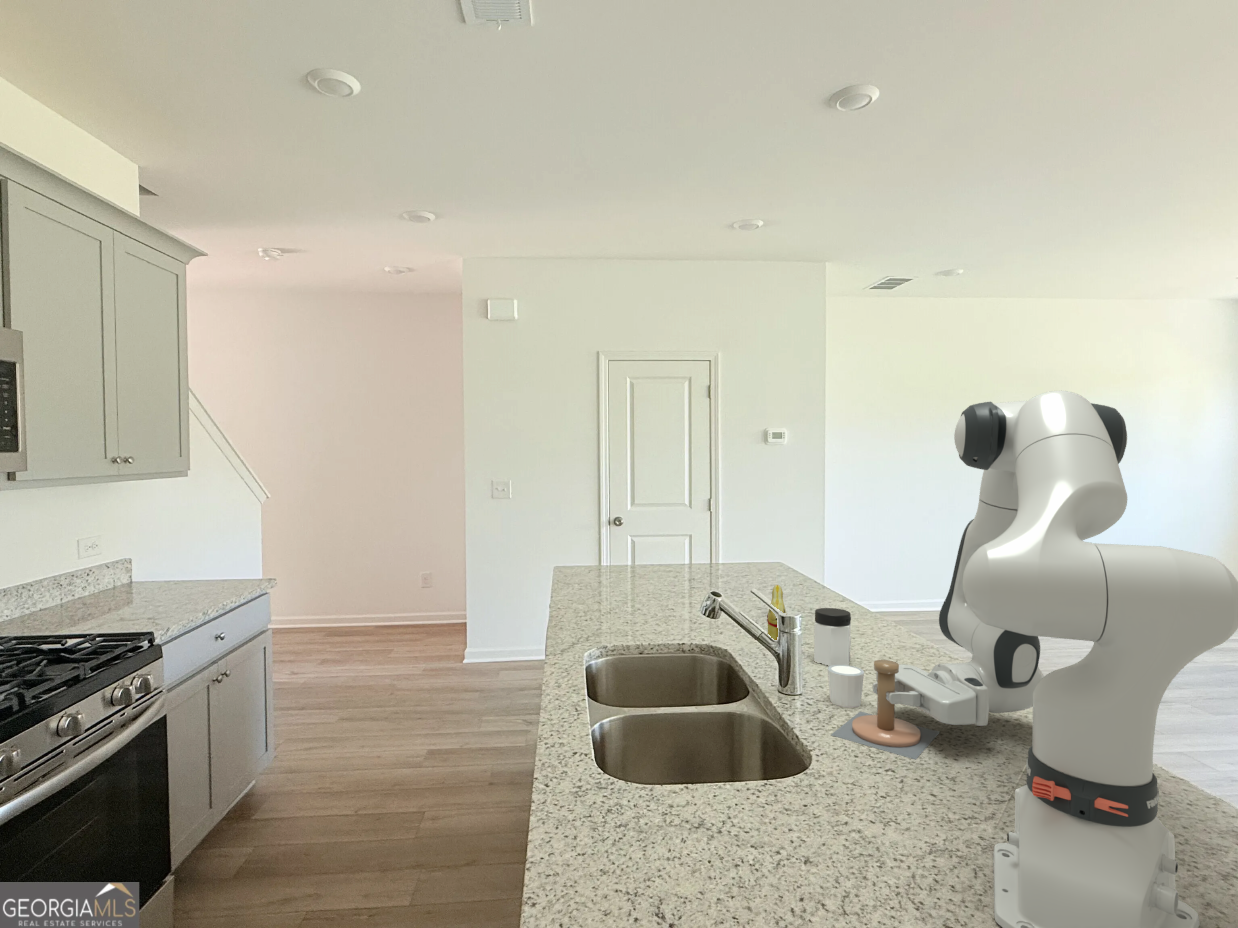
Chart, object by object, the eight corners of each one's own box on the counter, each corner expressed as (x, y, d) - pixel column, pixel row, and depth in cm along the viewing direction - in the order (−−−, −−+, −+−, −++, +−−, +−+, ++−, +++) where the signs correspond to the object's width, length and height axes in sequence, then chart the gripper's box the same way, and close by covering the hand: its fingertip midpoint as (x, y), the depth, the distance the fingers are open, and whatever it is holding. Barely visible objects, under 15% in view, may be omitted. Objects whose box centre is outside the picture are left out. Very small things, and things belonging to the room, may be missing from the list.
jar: (849, 669, 150) (849, 617, 150) (812, 664, 154) (812, 613, 154) (851, 658, 159) (852, 609, 159) (816, 654, 162) (817, 606, 162)
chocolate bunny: (766, 646, 168) (766, 588, 168) (767, 635, 179) (767, 581, 179) (793, 648, 166) (794, 590, 166) (793, 637, 177) (793, 582, 177)
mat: (915, 762, 104) (915, 759, 104) (830, 738, 113) (830, 734, 113) (939, 735, 115) (939, 731, 115) (860, 714, 124) (860, 711, 124)
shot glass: (866, 712, 125) (867, 676, 125) (829, 709, 126) (829, 673, 126) (861, 699, 131) (861, 665, 131) (825, 697, 133) (825, 662, 133)
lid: (909, 753, 106) (909, 678, 106) (842, 734, 113) (843, 664, 113) (928, 731, 115) (929, 662, 114) (865, 715, 122) (865, 650, 122)
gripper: (917, 653, 126) (850, 657, 124) (994, 691, 106) (917, 695, 104) (916, 686, 126) (850, 690, 124) (994, 729, 106) (916, 735, 104)
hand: (881, 693), depth 114 cm, fingers closed on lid, 3 cm apart
